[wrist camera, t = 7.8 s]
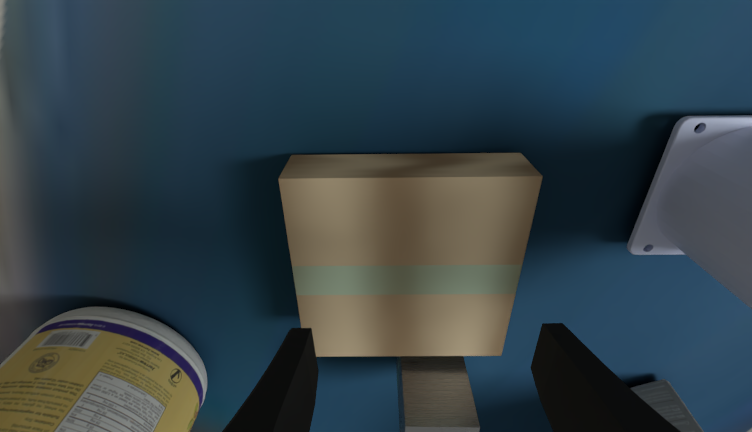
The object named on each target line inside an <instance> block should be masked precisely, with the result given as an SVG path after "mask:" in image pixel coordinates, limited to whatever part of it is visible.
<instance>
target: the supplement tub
mask: <svg viewBox="0 0 752 432" xmlns="http://www.w3.org/2000/svg"><path fill="white" fill-rule="evenodd" d="M206 390H207V374H206V370H205V366H204V364H203V362H202V360H201V358H200V356H199V354H198V353H197V352H196V350H195V349H194V348H193V347H192V345H191V344H190V343H189V342H188V341H187V340H186V339H185V338H184V337H182V336H181V335H180V334H179V333H177V332H176V331H175V330H173V329H172V328H170V327H168V326H167V325H165V324H163V323H161V322H159V321H157V320H155V319H153V318H150V317H148V316H145V315H142V314H139V313H136V312H132V311H128V310H124V309H118V308H111V307H85V308H79V309H75V310H71V311H68V312H65V313H63V314H60V315H58V316H56V317H54V318H52V319H50V320H49V321H47V322H46V323H44V324H43V325H42V326H40V327H38V328H37V329H36V330H34V331H33V332H32V333H31V335H30V336H29V337H28V338H27V339H26V340H25V341H24V342H23V343H22V344H21V345H20V346H19V347H18V348H17V349H16V350H15V351H14V352H13V353H12V354H11V355H10V356H9V357H8V358H6V359H5V360H4V361H3V362H2V363H1V364H0V432H190V430H191V428H192V426H193V423H194V421H195V419H196V417H197V414H198V412H199V410H200V408H201V406H202V404H203V402H204V399H205V393H206Z"/></svg>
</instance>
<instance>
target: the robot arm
mask: <svg viewBox="0 0 752 432" xmlns="http://www.w3.org/2000/svg"><path fill="white" fill-rule="evenodd" d="M699 123H700V126H699V127H698V129H696V130H695V131H694V128H695V127H696V125H698V124H699ZM646 245H648V246H647V247H645V246H646ZM644 247H645V248H644ZM627 249H628V251H629V252H630V253H632V254H634V255H678V254H686V255H687V256H688V257H689V258H691V259H692V260H693V261H694V262H696V263H697V264H698V265H699V266H700V267H702V268H703V269H704V270H705V271H706V272H708V273H709V274H710V275H711V276H712V277H714V278H715V279H716V280H717V281H718V282H720V283H721V284H722V285H723V286H725V287H726V288H727V289H728V290H729V291H731V292H732V293H733V294H734V295H735V296H737V297H738V298H739V299H740V300H741V301H743V302H744V303H745V304H746V305H747V306H749V307H750V308H751V309H752V115H731V116H686V117H683V118H681V119H680V120H678V121H677V122H676V124H675V126H674V128H673V130H672V133H671V135H670V138H669V140H668V143H667V146H666V148H665V151H664V153H663V156H662V158H661V161H660V163H659V166H658V168H657V171H656V173H655V176H654V178H653V181H652V183H651V186H650V189H649V191H648V194H647V196H646V199H645V201H644V204H643V206H642V209H641V211H640V214H639V216H638V219H637V221H636V224H635V226H634V229H633V231H632V234H631V237H630V239H629V242H628V244H627ZM531 370H532V374H533V377H534V381H535V384H536V388H537V391H538V394H539V397H540V401H541V403H542V406H543V408H544V410H545V413H546V415H547V417H548V420H549V422H550V425H551V427H552V429H553V432H681V431H680V430H678V429H677V428H676V427H675V426H673V425H672V424H671V423H670V422H668V421H667V420H666V419H665V418H664V417H662V416H661V415H660V414H659V413H658V412H657V411H655V410H654V409H653V408H652V407H651V406H650V405H648V404H647V403H646V402H645V401H644V400H643V399H641V398H640V397H639V396H638V395H637V394H636V393H635V392H634V391H632V390H631V389H630V388H629V387H628V386H627V385H626V384H625V383H624V382H623V381H621V380H620V379H619V378H618V377H617V376H616V375H615V374H614V373H613V372H612V371H611V370H610V369H609V368H608V367H607V366H606V365H604V364H603V363H602V362H601V361H600V360H599V359H598V358H597V357H596V356H595V355H594V354H593V353H592V352H591V351H590V350H589V349H588V348H587V347H586V346H585V345H584V344H583V343H582V342H581V341H580V340H579V339H578V338H577V337H576V336H575V335H574V334H573V333H572V332H571V331H570V330H569V329H568V328H567V327H566V326H565V325H564V324H563V323H550V324H542V327H541V331H540V335H539V338H538V342H537V346H536V350H535V353H534V357H533V361H532V364H531ZM317 380H318V365H317V359H316V353H315V347H314V341H313V335H312V329H311V328H292V329H291V330H290V331H289V332H288V334H287V336H286V338H285V339H284V341H283V343H282V345H281V346H280V348H279V350H278V352H277V353H276V355H275V357H274V358H273V360H272V362H271V363H270V365H269V366H268V368H267V370H266V371H265V373H264V374H263V376H262V377H261V379H260V380H259V382H258V383H257V385H256V386H255V388H254V389H253V391H252V392H251V394H250V395H249V396H248V398H247V399H246V401H245V402H244V403H243V405H242V406H241V407H240V409H239V410H238V412H237V413H236V414H235V416H234V417H233V418H232V420H231V421H230V422H229V424H228V425H227V426H226V427H225V429H224V430H223V431H222V432H309V430H310V426H311V421H312V416H313V411H314V406H315V399H316V390H317Z"/></svg>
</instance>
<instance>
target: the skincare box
mask: <svg viewBox="0 0 752 432" xmlns="http://www.w3.org/2000/svg"><path fill="white" fill-rule="evenodd" d="M630 389H631V390H632V391H634V392H635V393H636V394H637V395H638V396H639V397H640V398H641V399H643V400H644V401H645V402H646V403H647V404H648V405H650V406H651V407H652V408H653V409H654V410H655V411H657V412H658V413H659V414H660V415H661V416H662V417H664V418H665V419H666V420H667V421H668V422H670V423H671V424H672V425H673V426H675V427H676V428H677V429H678V430H680V431H681V432H704V431H703V430H702V429H701V427H700V426H699V424H698V423H697V422H696V420H695V419H694V417H693V416H692V414H691V413H690V411H689V410H688V409H687V407H686V406H685V404H684V403H683V401H682V400H681V399H680V397H679V396H678V394H677V393H676V391H675V390H674V389H673V387H672V386H671V384H670V383H669V382H668V381H666V380H665V379H662V380H659V381H655V382H651V383H647V384H643V385H639V386H635V387H632V388H630Z"/></svg>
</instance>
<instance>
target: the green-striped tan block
mask: <svg viewBox="0 0 752 432" xmlns="http://www.w3.org/2000/svg"><path fill="white" fill-rule="evenodd" d="M542 178H543V176H542V175H541V174H540V173H539V172H538V171H537V170H536V169H535V168H534V166H533V165H532V164H531V163H530V162H529V161H528V160H527V159H526V158H525V157H524V156H523V155H522V154H521V153H446V154H338V155H291V157H290V158H289V160H288V162H287V164H286V166H285V167H284V169H283V171H282V173H281V175H280V177H279V178H278V180H279V186H280V193H281V199H282V206H283V212H284V218H285V225H286V231H287V238H288V244H289V251H290V257H291V263H292V270H293V276H294V283H295V289H296V295H297V302H298V308H299V315H300V321H301V328H311V329H312V335H313V341H314V347H315V353H316V357H343V356H501V354H502V350H503V345H504V341H505V337H506V332H507V328H508V324H509V320H510V315H511V311H512V307H513V302H514V298H515V294H516V289H517V285H518V281H519V277H520V272H521V268H522V264H523V259H524V255H525V251H526V246H527V242H528V238H529V233H530V229H531V225H532V221H533V216H534V212H535V208H536V203H537V199H538V195H539V190H540V186H541V182H542Z"/></svg>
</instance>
